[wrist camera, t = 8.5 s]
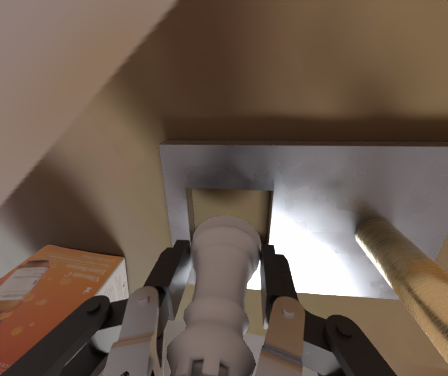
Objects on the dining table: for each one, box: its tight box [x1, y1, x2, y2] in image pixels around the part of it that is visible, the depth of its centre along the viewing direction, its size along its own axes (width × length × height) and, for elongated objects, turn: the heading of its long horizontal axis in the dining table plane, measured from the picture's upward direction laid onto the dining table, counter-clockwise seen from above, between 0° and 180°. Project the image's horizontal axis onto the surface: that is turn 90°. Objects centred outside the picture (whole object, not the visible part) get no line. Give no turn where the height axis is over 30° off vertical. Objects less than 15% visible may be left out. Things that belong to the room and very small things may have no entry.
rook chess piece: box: [167, 215, 261, 376], centre depth 11 cm, size 4×4×8 cm
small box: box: [0, 245, 129, 375], centre depth 17 cm, size 8×6×10 cm
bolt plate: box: [159, 140, 448, 363], centre depth 12 cm, size 19×12×10 cm, turn 91°
